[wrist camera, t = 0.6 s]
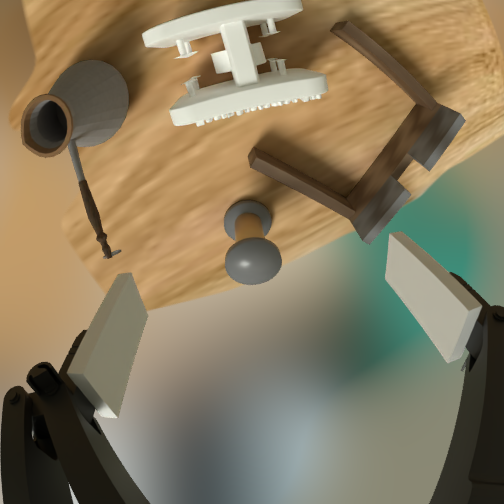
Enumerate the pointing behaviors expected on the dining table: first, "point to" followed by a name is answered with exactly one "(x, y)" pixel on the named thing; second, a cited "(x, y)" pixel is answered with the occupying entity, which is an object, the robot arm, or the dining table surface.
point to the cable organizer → (236, 62)
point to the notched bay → (390, 159)
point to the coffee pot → (78, 121)
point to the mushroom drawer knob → (250, 244)
